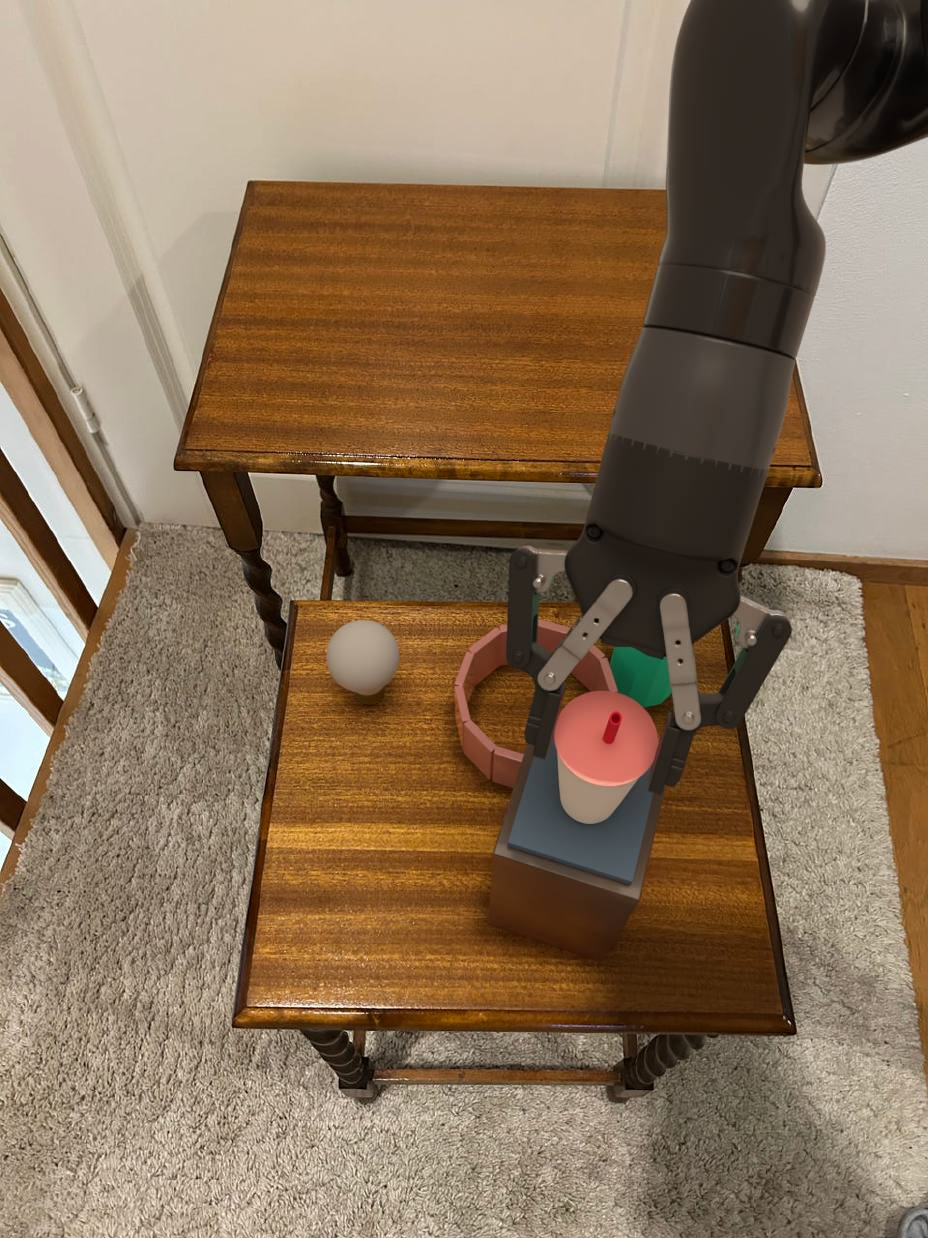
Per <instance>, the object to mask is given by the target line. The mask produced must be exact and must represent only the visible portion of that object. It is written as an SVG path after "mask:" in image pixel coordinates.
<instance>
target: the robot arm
mask: <svg viewBox="0 0 928 1238" xmlns="http://www.w3.org/2000/svg"><path fill="white" fill-rule="evenodd" d="M675 41H676V42H675V46H674V51H673V56H672V61H671V62H672V63H671V70H670V79H669V92H668V93H669V94H668V113H667V114H668V116H667V117H668V119H667V141H666V142H667V145H666V168H665V207H666V208H665V210H666V211H665V212H666V213H665V214H666V215H665V216H666V217H665V221H666V225H665V237H664V242H663V245H662V247H661V251H660V255H659V258H658V261H657V265H656V266H657V267H656V268H655V272H654V276H653V279H652V284H651V288H650V290H649V294H648V299H647V302H646V307H645V310H644V315H643V319H642V323H641V326H642V328H640V329H639V333H638V337H637V340H636V342H635V345H634V347H633V350H632V352H631V355H630V358H629V360H628V362H627V365H626V368H625V370H624V373H623V376H622V378H621V383H620V386H619V390H618V394H617V398H616V402H615V405H614V408H613V411H612V417H611V422H610V426H609V429H608V432H607V437H606V441H605V444H604V448H603V452H602V456H601V460H600V464H599V468H598V472H597V475H596V479H595V484H594V487H593V491H592V494H591V499H590V503H589V506H588V511H587V514H586V517H585V522H584V526H583V530H582V532H581V534H580V536H579V538H577V540H576V542H574V543H573V544H572V545H571V547H570V548H569V549H567V550H563V549H548V548H540V547H538V545H536V544H535V543H531V542H527V543H524V544H522V545H521V546H520V547H519V548H517V550H515V551H514V552H513V553H512V554H511V555H510V557H509V562H508V588H507V590H508V591H507V615H506V617H507V620H506V621H507V622H506V624H507V644H506V660H507V662H508V664H507V665H509V666H510V667H512V668H513V669H517V670H521V671H523V672H524V673H526V674H527V675H528V676H529V677H531V679H532V680H533V682H534V693H533V697H532V701H531V705H530V709H529V713H528V717H527V720H526V724H525V729H524V732H523V733H524V734H523V735H524V740H525V744H526V745H527V744H531V745H534V750H533V754H532V756H533V757H536V758H539V759H543V760H545V759H546V757H547V754H548V752H549V749H550V746H551V742H552V739H553V735H554V731H555V727H556V724H557V720H558V716H559V715H560V713H561V710H562V709H561V708H562V705H563V700H564V697H565V694H566V693H565V692H566V689H567V686H568V683H567V682H565V680H566V679H567V678H568V676H569V675H570V674H571V671H572V670H573V669H574V668H575V666H576V665H577V664H578V663H579V661H580V660H582V659H583V657H584V656H585V655H586V654H587V652H588V651H589V650H590V649H591V647H592V646H593V645H595V644H596V643H597V641H598V640H600V642H599V643H600V644H604V645H607V646H611V647H613V648H614V647H633V648H635V649H637V650H638V651H640V652H642V653H644V654H645V655H647V656H651V657H654V658H658V659H661V660H663V658H664V657H667V662H668V670H669V678H670V684H671V689H672V693H671V695H672V696H671V697H672V703H673V709H672V712H667V714H666V717H665V720H664V725H663V727H662V730H661V734H660V738H659V740H658V747H657V751H656V755H655V759H654V761H653V764H652V768H651V771H650V775H649V779H648V788H647V791H648V792H652V793H655V794H659V795H661V794H662V791H663V788H664V785H666V786H667V787H668V786H669V787H671V788H675V787H676V785H677V784H678V783H679V782H680V781H681V779H682V777H683V773H684V769H685V766H686V763H687V760H688V757H689V754H690V750H691V746H692V744H693V740H694V737H695V735H696V733H697V732H698V731H700V729H702V728H705V727H715V726H716V727H718V726H719V727H721V728H722V729H726V730H732V729H736V728H737V727H738V726H739V725H740V724H741V723H742V721H743V719H744V717H745V716H746V714H747V713H748V710H749V709H750V707H751V705H752V703H753V702H754V700H755V698H756V696H757V695H758V694H759V692H760V690H761V688H762V686H763V684H764V683H765V681H766V680H767V677H768V676H769V674H770V673H771V670H772V669H773V667H774V665H775V663H776V662H777V660H778V658H779V657H780V655H781V654H782V651H783V650H784V648H785V646H786V644H787V643H788V641H789V640H790V638H791V636H792V631H793V629H792V625H791V622H790V619H789V617H788V616H787V614H786V613H785V612H784V610H782V608H780V607H774V606H773V607H769V608H768V607H766V606H764V605H762V604H760V603H758V602H756V601H753V600H751V599H749V598H747V597H746V596H744V595H742V594H741V589H740V586H739V568H740V566H741V561H742V559H743V555H744V552H745V549H746V546H747V542H748V538H749V535H750V532H751V529H752V526H753V522H754V520H755V515H756V513H757V509H758V506H759V503H760V499H761V496H762V493H763V490H764V486H765V483H766V480H767V477H768V473H769V470H770V466H771V463H772V459H773V456H774V454H775V452H776V450H777V449H776V448H777V445H778V440H779V437H780V434H781V432H782V428H783V424H784V421H785V418H786V417H785V416H786V413H787V408H788V403H789V398H790V397H789V396H790V391H791V384H792V378H793V374H794V369H795V365H796V361H795V360H796V359H797V357H798V353H799V350H800V348H801V345H802V340H803V337H804V334H805V331H806V328H807V325H808V320H809V317H810V315H811V311H812V308H813V304H814V302H815V298H816V296H817V292H818V288H819V286H820V283H821V278H822V274H823V270H824V265H825V260H826V254H827V253H826V252H827V241H826V237H825V233H824V230H823V228H822V226H821V225H820V224H819V222H818V220H817V219H816V218H815V216H814V215H813V213H812V211H811V210H810V207H809V206H808V204H807V202H806V200H805V196H804V195H805V194H804V191H803V177H804V176H803V175H804V165H810V166H811V165H812V166H813V165H814V166H828V165H830V166H831V165H842V164H851V163H856V162H860V161H864V160H868V159H869V160H870V159H872V158H876V157H878V156H882V155H886V154H887V153H890V152H894V151H896V150H899V149H901V148H903V147H907V146H909V145H911V144H914V143H917V142H919V141H922V140H925V139H927V138H928V0H690V1H689V3H688V6H687V8H686V9H685V12H684V15H683V17H682V21H681V24H680V27H679V31H678V34H677V38H676V40H675ZM563 572H564V573H565V574H566V577H567V579H568V582H569V585H570V587H571V590H572V592H573V594H574V597H575V600H576V603H577V605H578V607H579V609H580V612H581V614H580V615H579V617H578V618H577V619H576V621H575V622H574V623H573V624H572V626H571V627H570V630H569V631H568V633H567V634H566V635H565V637H564V638H563V639H562V640H561V642H560V643H559V644H558V646H557V647H556V648H555V649H554V651H553V652H552V653H551V652H549V651H548V650H547V649H545V648H544V647H542V646H541V645H539V644H538V643H537V642H538V619H539V616H540V615H539V614H540V596H541V595H540V594H543V593H545V592H547V591H549V589H550V588H551V586H552V585H553V584H554V581H555V577H556V575H558V574H559V573H563ZM731 617H734V618H735V619H736V620H737V622H738V625H737V629H736V639H737V642H738V644H739V645H740V646H741V647H742V649H741V651H740V653H739V654H738V656H737V658H736V659H735V661H734V663H733V665H732V667H731V668H730V670H729V672H728V674H727V675H726V677H725V678H724V681H723V683H722V684H721V686H720V688H719V690H718V691H717V692H716V693H700V690H699V689H700V688H699V680H698V675H697V674H698V673H697V665H696V656H695V648H694V645H695V644H696V643H698V641H700V640H701V639H702V638H704V637H705V636H707V635H708V634H710V633H711V632H712V631H713V630H714V629H716V628H718V627H719V626H720V625H721V624H723V623H724V622H726V621H727V620H728V619H729V618H731Z"/></svg>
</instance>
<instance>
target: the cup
mask: <svg viewBox="0 0 928 1238" xmlns="http://www.w3.org/2000/svg"><path fill="white" fill-rule="evenodd" d="M554 740H555V745H556V749H557V755H558V774H559V789H560V799H561V803H562V806H563V808H564V810H565V811H566V813H567V814H568V815H569V816H570V817H572V818H573V819H575V820H576V821H579V822H581V823H586V824H595V823H599V822H602V821H604V820H605V819H607V818H608V817H609V816H610V815H611V814H612V813H613V811H614V810H615V809H616V808H617V807H618V805H619V804H620V803H621V801H622V800H623V799H624V797H625V796H626V795H627V793H628V792H629V791H630V789H631V788H632V787H633V785H634V784H635V782H636V781H637V780H638V778H639V777H640V776H642V775H643V774H644V773H645V772H646V771H647V770H648V769H649V767H650V766H651V765H652V763H653V761H654V759H655V755H656V751H657V747H658V744H659V736H658V731H657V727H656V725H655V722H654V720H653V719H652V716H651V715H650V714H649V712H648V710H646V709H645V708H643V707H642V706H641V705H640V704H639V703H637V702H636V701H634V700H633V699H631V698H629V697H627V696H625V695H623V694H620V693H616V692H612V691H593V692H591V691H589V692H586V693H583V694H580V695H578V696H576V697H575V698H573V699H571V700H570V701H569V702H567V704H566V705H565V706H564V707H563V708H562V709H561V710H560V712H559V716H558V720H557V724H556V727H555V731H554Z"/></svg>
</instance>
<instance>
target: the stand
mask: <svg viewBox="0 0 928 1238" xmlns="http://www.w3.org/2000/svg"><path fill="white" fill-rule="evenodd" d="M533 750H534V745H531V744H527V743H526V746H525V750H524V753H523V754H524V756H523V759H522V762H521V766H520V769H519V772H518V775H517V778H516V781H515V785H514V788H512V791H511V793H510V798H509V801H508V803H507V807H506V810H505V814H504V817H503V820H502V823H501V825H500V829H499V832H498V836H497V839H496V841H495V845H494V848H493V851H492V861H491V873H490V877H491V878H490V889H489V903H488V917H487V920H488V921H487V925H489V926H492V927H495V928H498V929H501V930H503V931H507V932H509V933H512V934H515V935H518V936H521V937H525V938H527V939H531V940H533V941H537V942H540V943H541V944H545V945H548V946H551V947H555V948H558V949H561V950H563V951H566V952H569V953H573V954H575V955H578V956H582V957H585V958H587V959H590V960H594V961H595V962H596V961H597V962H600V963H603V962H604V960H605V959H606V957H607V955H608V954H609V951H610V950H611V948H612V947H613V945H614V944H615V942H616V940H617V939H618V937H619V935H620V934H621V932H622V930H623V929H624V927H625V925H627V922H628V921H629V919H630V917H631V915H632V914H633V912H634V910H635V909H636V907H637V906H638V904H639V903H640V900H641V897H642V893H643V888H644V884H645V879H646V875H647V870H648V866H649V861H650V858H651V854H652V849H653V843H654V840H655V835H656V832H657V827H658V823H659V817H660V815H661V809H662V804H663V801H664V797H665V792H666V788H667V785H664V788H663V791H662V794H661V795H659V794H655V793H653V798H652V802H651V806H650V810H649V815H648V819H647V823H646V828H645V832H644V836H643V840H642V845H641V849H640V853H639V857H638V862H637V866H636V870H635V875H634V879H633V882H632V884H631V885H628V884H625V883H621V882H618V881H615V880H612V879H609V878H606V877H603V876H599V875H596V874H593V873H590V872H587V871H584V870H580V869H577V868H574V867H571V866H568V865H565V864H562V863H558V862H555V861H552V860H549V859H546V858H543V857H540V856H536V855H533V854H530V853H527V852H524V851H521V850H517V849H514V848H511V847H508V846H507V844H508V839H509V836H510V833H511V830H512V826H513V823H514V820H515V817H516V813H517V810H518V807H519V804H520V801H521V797H522V794H523V791H524V788H525V784H526V781H527V778H528V775H529V771H530V768H531V765H532V762H533V759H534V757H533V756H532V754H533ZM652 764H653V763H652Z"/></svg>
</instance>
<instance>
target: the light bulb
mask: <svg viewBox="0 0 928 1238" xmlns="http://www.w3.org/2000/svg"><path fill="white" fill-rule="evenodd" d="M400 658H401V654H400V648H399V643H398V642H397V640H396V637H395V636H394V635H393V633H392V632H391V631H390V630H389V628H387V627H385V626H384V625H383V624H381V623H379V622H377V621H374V620H369V619H358V620H353V621H350V622H348V623H345V624H344V625H342V626H341V627H340V628H338V630H337V631H335V632H334V634H333V635H332V637H330V640H329V642H328V645H327V647H326V665H327V668H328V671H329V673H330V675H331V677H332V679H333V680H334V681H335V682H336V683H337V684H338V685H340V686H341V687H342V688H344V689H346V690H347V691H350V692H353V693H354V694H355V697H356V699H357V700H358V701H359V702H360V703H362V704H365V705H374V704H377V703H379V702H380V701H381V700H382V699H383V698H384V697H385V695H386V686H387V685H388V684H389V683H390V682H391V681H392V680H393V678H394V677H395V676H396V674H397V671H398V669H399V665H400V660H401V659H400Z"/></svg>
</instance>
